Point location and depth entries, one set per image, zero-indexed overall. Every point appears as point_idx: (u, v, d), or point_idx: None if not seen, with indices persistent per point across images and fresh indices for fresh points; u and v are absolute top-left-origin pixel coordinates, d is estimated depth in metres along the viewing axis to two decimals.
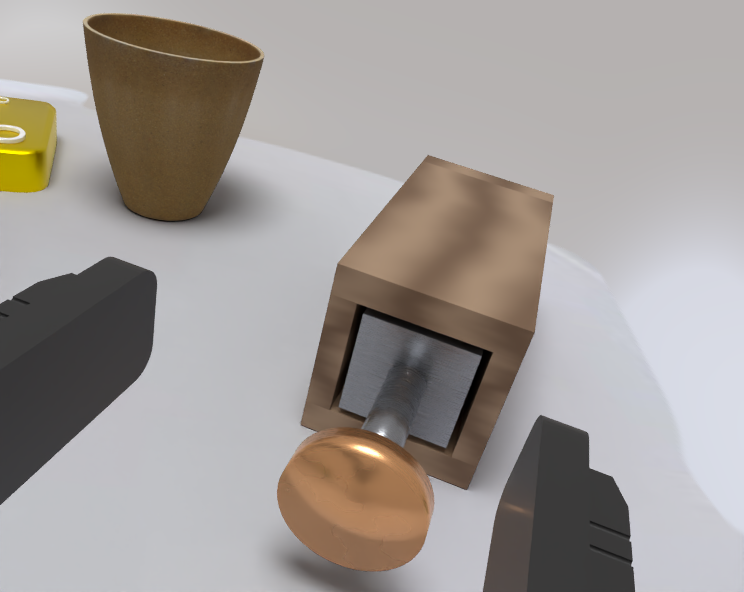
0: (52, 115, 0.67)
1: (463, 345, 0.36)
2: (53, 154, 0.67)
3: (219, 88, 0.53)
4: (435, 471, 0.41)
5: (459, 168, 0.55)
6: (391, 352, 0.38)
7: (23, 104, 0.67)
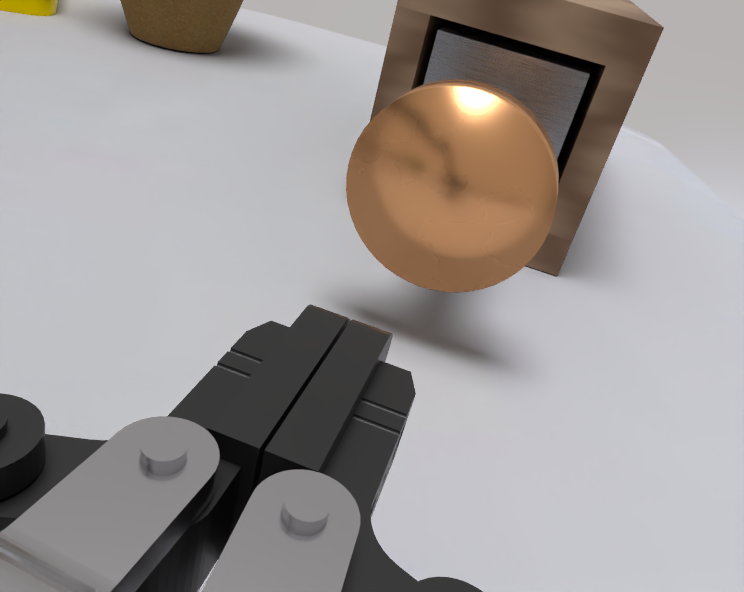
0: None
1: (565, 65, 0.29)
2: None
3: None
4: None
5: None
6: None
7: None
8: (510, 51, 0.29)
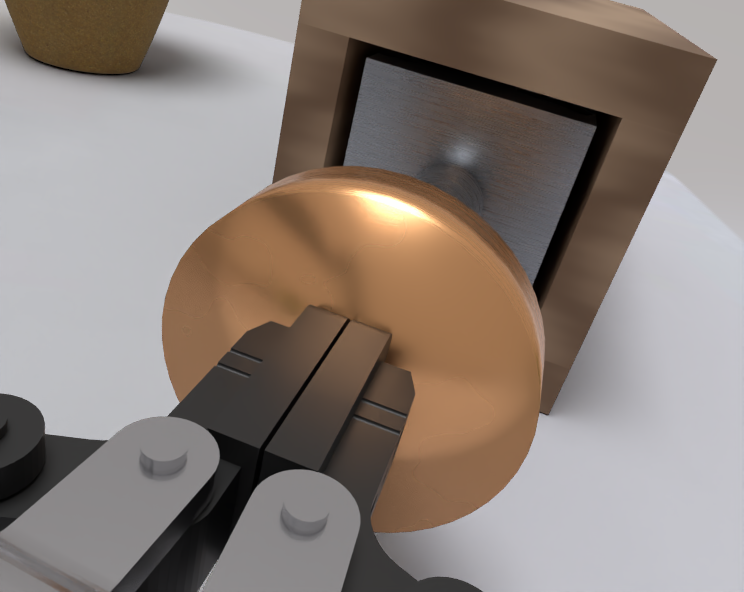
0: None
1: (558, 112, 0.19)
2: None
3: None
4: None
5: None
6: (419, 137, 0.20)
7: None
8: (475, 91, 0.19)
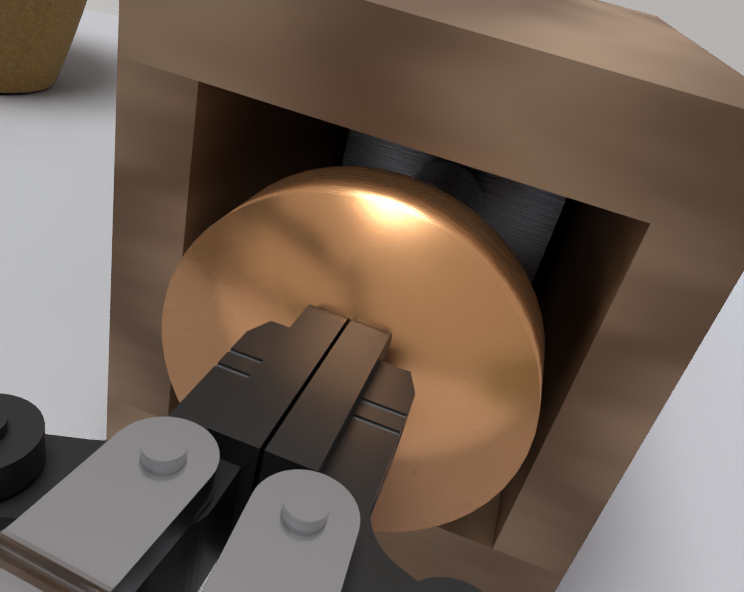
0: None
1: None
2: None
3: None
4: None
5: None
6: None
7: None
8: None
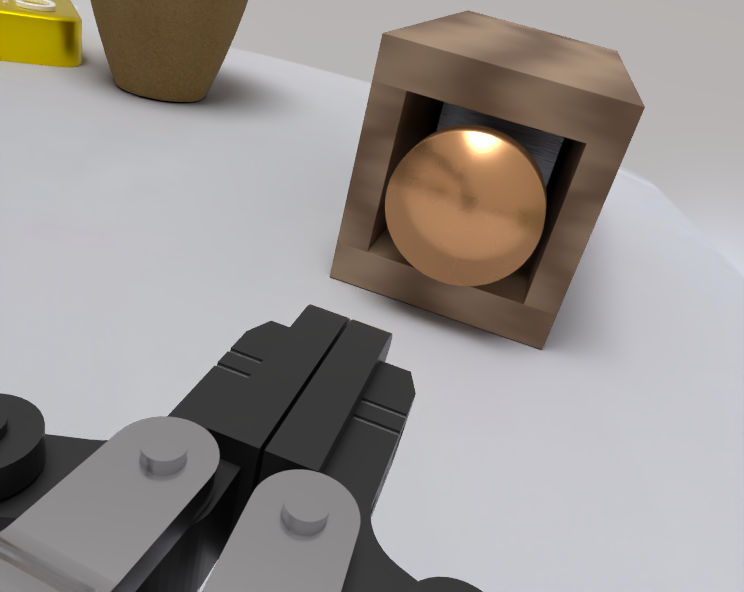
0: None
1: None
2: None
3: None
4: (501, 327, 0.32)
5: (505, 21, 0.47)
6: (478, 121, 0.37)
7: None
8: None
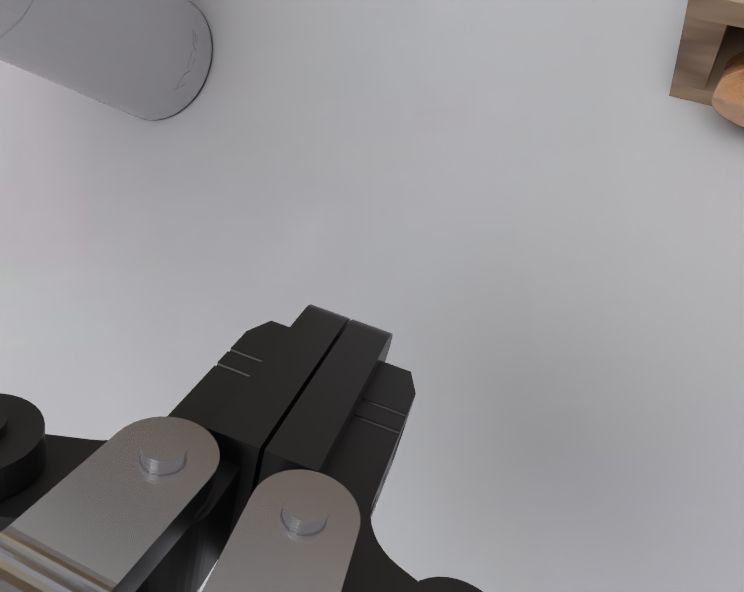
0: None
1: None
2: None
3: None
4: None
5: None
6: None
7: None
8: None
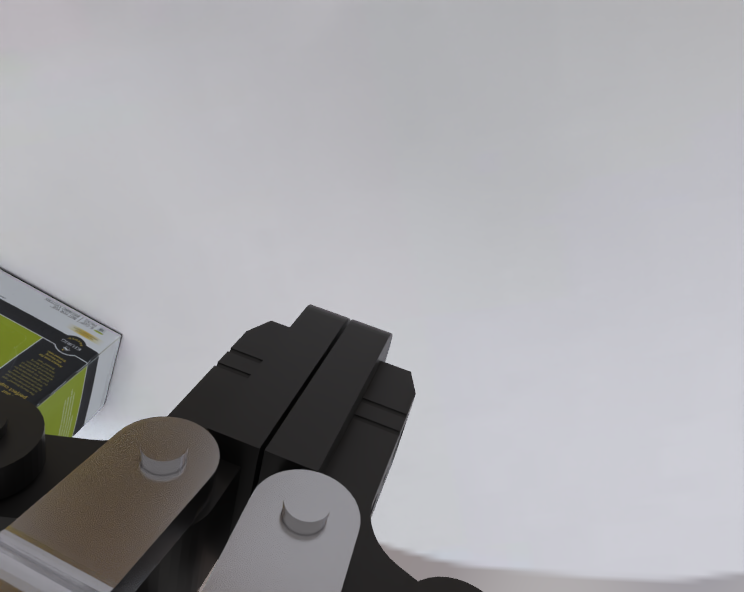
0: None
1: None
2: None
3: None
4: None
5: None
6: None
7: None
8: None
